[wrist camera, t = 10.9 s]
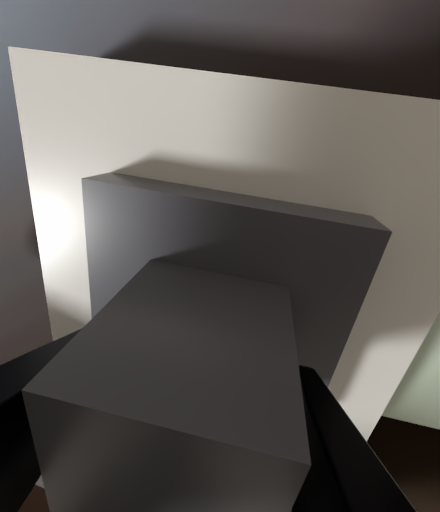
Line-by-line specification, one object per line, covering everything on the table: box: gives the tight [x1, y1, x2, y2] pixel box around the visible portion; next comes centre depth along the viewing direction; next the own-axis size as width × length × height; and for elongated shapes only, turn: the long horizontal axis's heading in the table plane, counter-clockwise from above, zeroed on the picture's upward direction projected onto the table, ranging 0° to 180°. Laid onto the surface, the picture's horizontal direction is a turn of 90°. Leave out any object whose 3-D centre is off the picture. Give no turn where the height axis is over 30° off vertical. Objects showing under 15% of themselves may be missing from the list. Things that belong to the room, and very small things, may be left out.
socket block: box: [8, 46, 440, 441], centre depth 11 cm, size 14×14×3 cm
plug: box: [21, 172, 392, 512], centre depth 8 cm, size 8×8×9 cm
